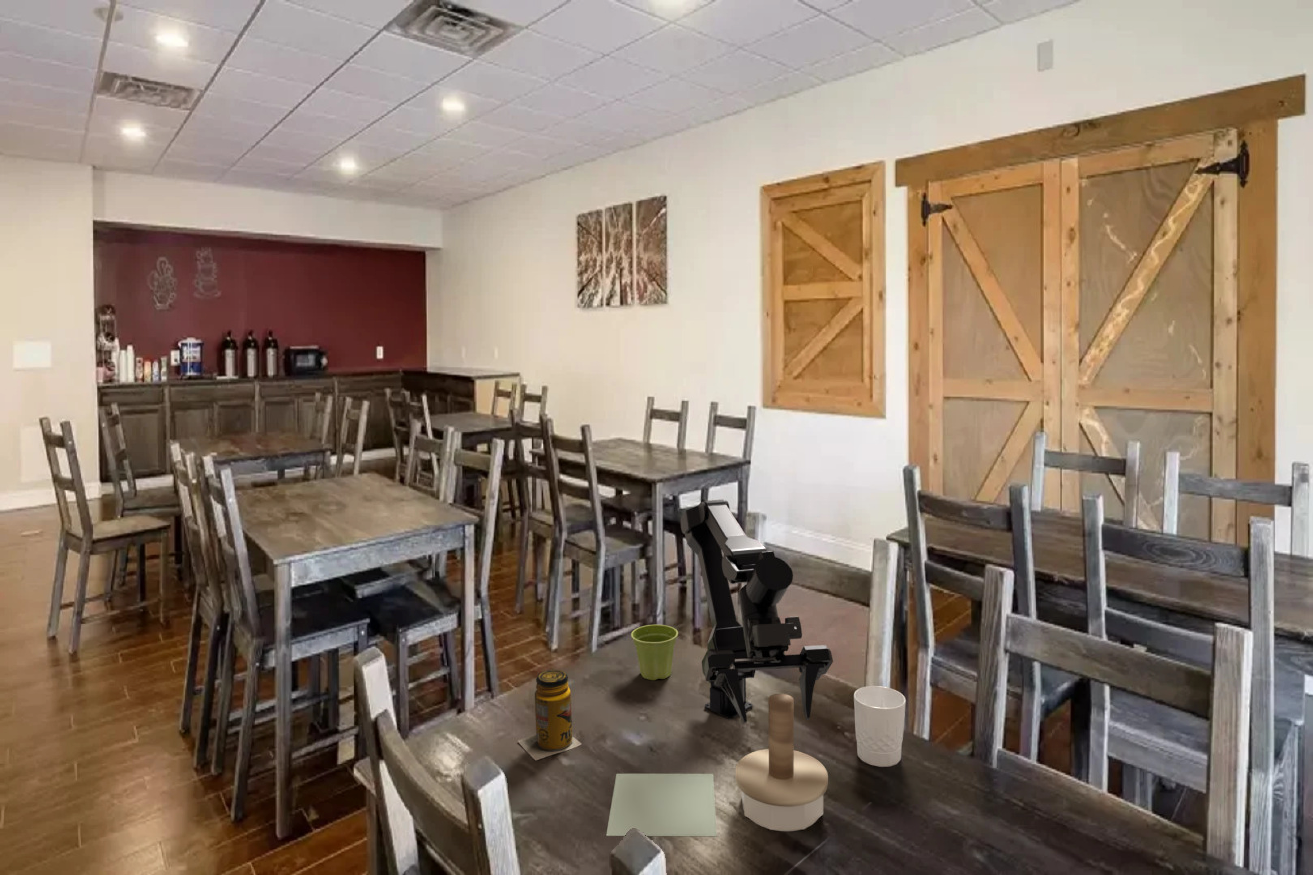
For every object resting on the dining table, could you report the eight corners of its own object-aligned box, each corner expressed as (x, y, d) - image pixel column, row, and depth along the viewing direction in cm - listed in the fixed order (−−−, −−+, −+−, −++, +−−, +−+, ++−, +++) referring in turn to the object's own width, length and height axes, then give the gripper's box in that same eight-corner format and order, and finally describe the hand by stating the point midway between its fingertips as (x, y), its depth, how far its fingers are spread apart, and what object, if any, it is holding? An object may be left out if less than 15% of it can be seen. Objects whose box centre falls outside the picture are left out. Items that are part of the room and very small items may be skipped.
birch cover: (745, 749, 118) (744, 674, 116) (831, 761, 114) (832, 684, 112) (726, 797, 106) (725, 715, 104) (822, 813, 102) (823, 728, 100)
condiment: (582, 745, 129) (579, 677, 127) (535, 761, 124) (532, 691, 123) (562, 727, 135) (559, 662, 133) (517, 742, 130) (514, 675, 129)
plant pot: (664, 688, 149) (663, 645, 148) (623, 678, 154) (622, 637, 153) (687, 670, 157) (686, 629, 156) (647, 661, 162) (646, 621, 161)
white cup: (907, 748, 125) (908, 690, 124) (900, 774, 118) (902, 712, 117) (858, 739, 129) (858, 682, 127) (849, 763, 122) (849, 703, 120)
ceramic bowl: (773, 777, 118) (773, 750, 118) (835, 807, 110) (836, 778, 110) (726, 809, 110) (726, 780, 110) (790, 844, 103) (790, 812, 102)
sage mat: (616, 775, 120) (616, 773, 120) (713, 775, 119) (713, 773, 119) (606, 837, 105) (606, 835, 105) (716, 838, 104) (716, 836, 104)
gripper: (705, 600, 114) (718, 706, 104) (829, 594, 115) (853, 698, 106) (699, 630, 122) (710, 731, 113) (814, 624, 124) (835, 723, 114)
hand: (776, 720), depth 111 cm, fingers open, 9 cm apart
